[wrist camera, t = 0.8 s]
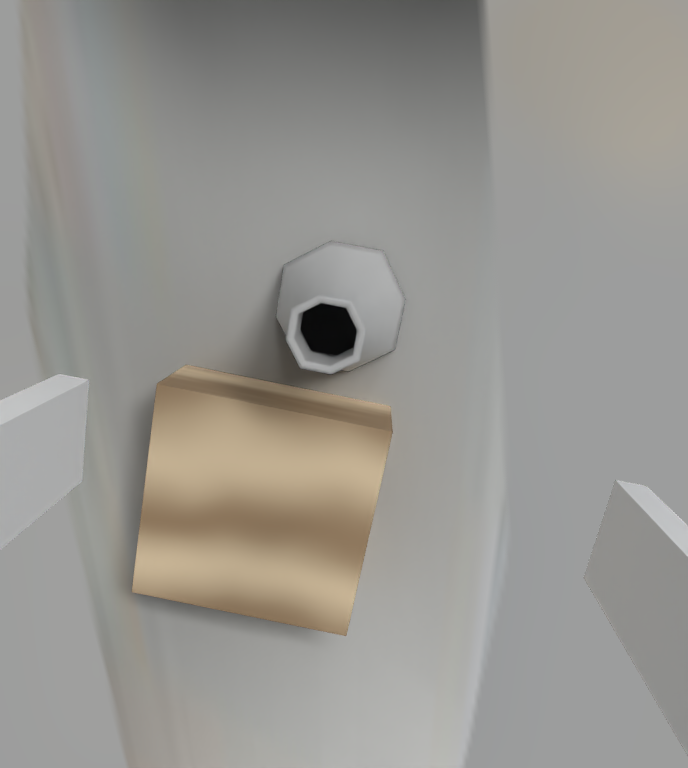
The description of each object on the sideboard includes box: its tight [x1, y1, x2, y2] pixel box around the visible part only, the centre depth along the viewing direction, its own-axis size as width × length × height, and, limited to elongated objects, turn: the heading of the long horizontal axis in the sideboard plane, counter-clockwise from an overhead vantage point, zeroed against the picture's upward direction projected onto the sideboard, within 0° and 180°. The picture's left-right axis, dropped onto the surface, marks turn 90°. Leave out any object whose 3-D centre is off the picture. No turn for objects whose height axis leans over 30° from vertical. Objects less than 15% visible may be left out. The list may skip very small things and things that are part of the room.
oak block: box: [132, 365, 393, 636], centre depth 33 cm, size 12×12×5 cm
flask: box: [276, 241, 406, 374], centre depth 28 cm, size 7×7×10 cm
